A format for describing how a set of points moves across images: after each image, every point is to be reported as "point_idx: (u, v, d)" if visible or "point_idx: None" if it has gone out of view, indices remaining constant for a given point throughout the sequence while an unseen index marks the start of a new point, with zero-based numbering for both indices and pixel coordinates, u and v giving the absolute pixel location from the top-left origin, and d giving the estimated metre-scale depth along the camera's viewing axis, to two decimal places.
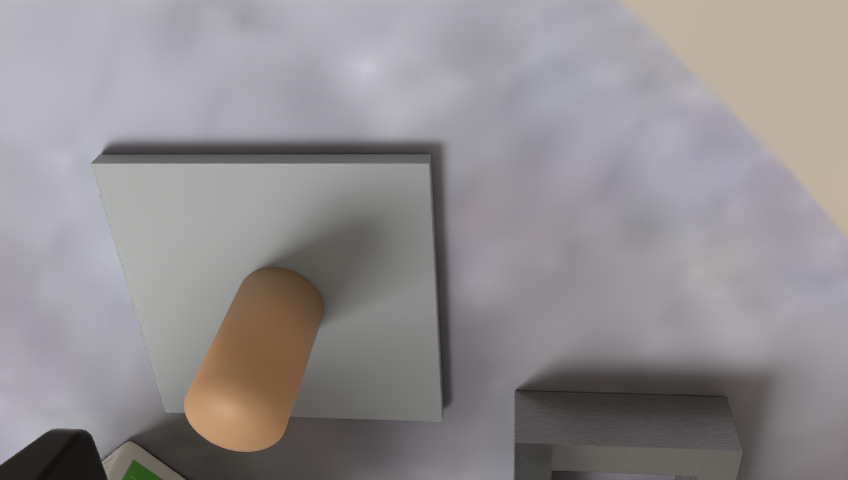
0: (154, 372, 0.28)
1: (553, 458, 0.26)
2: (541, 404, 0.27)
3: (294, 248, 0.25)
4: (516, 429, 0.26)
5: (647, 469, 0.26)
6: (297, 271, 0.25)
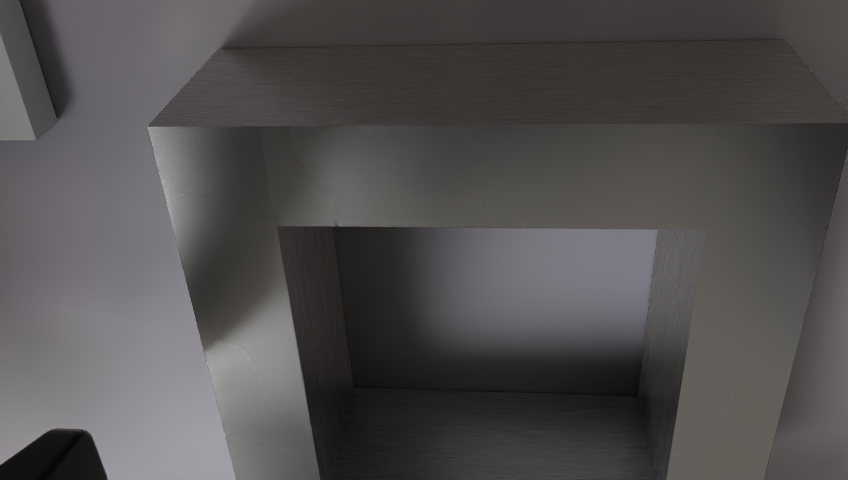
0: None
1: (271, 181, 0.09)
2: (272, 65, 0.10)
3: None
4: (171, 105, 0.09)
5: (554, 211, 0.09)
6: None
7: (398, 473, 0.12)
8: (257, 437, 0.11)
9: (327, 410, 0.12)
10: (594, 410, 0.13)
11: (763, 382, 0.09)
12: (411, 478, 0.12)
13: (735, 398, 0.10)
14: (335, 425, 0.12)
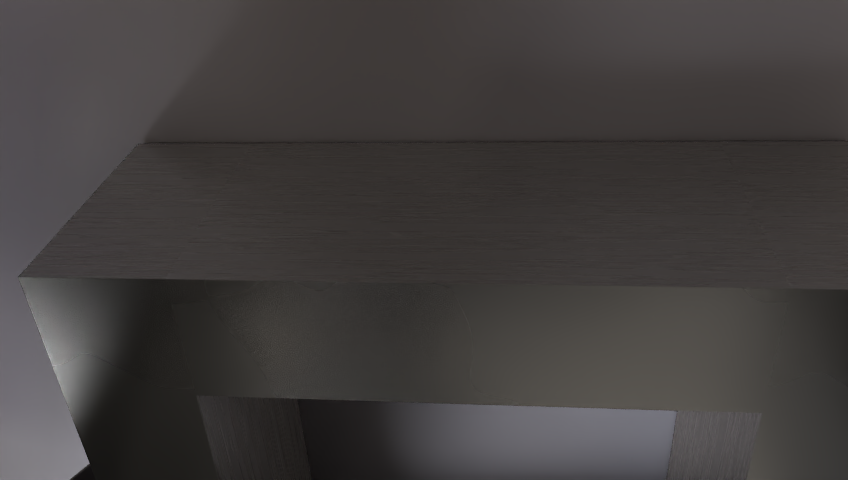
0: None
1: (186, 344, 0.07)
2: (200, 172, 0.08)
3: None
4: (59, 237, 0.07)
5: (560, 387, 0.06)
6: None
7: None
8: None
9: None
10: None
11: None
12: None
13: None
14: None
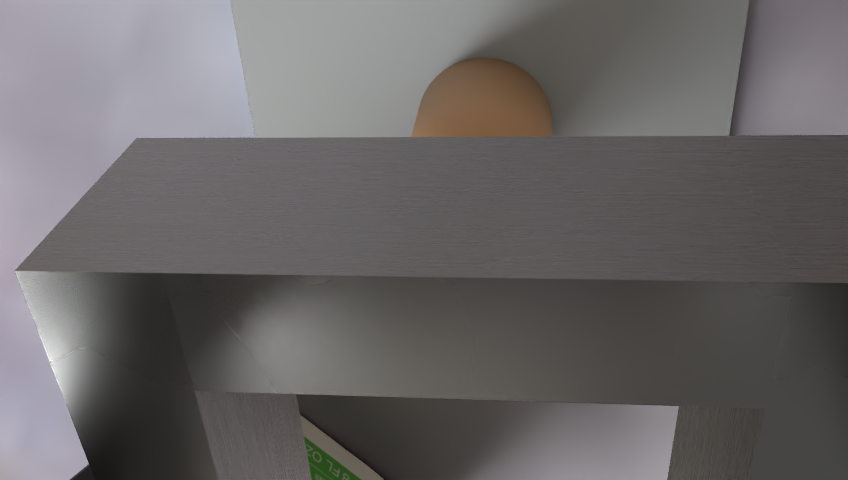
0: None
1: (184, 339, 0.07)
2: (198, 166, 0.08)
3: (520, 21, 0.16)
4: (56, 231, 0.07)
5: (560, 382, 0.06)
6: (518, 64, 0.16)
7: None
8: None
9: None
10: None
11: None
12: None
13: None
14: None
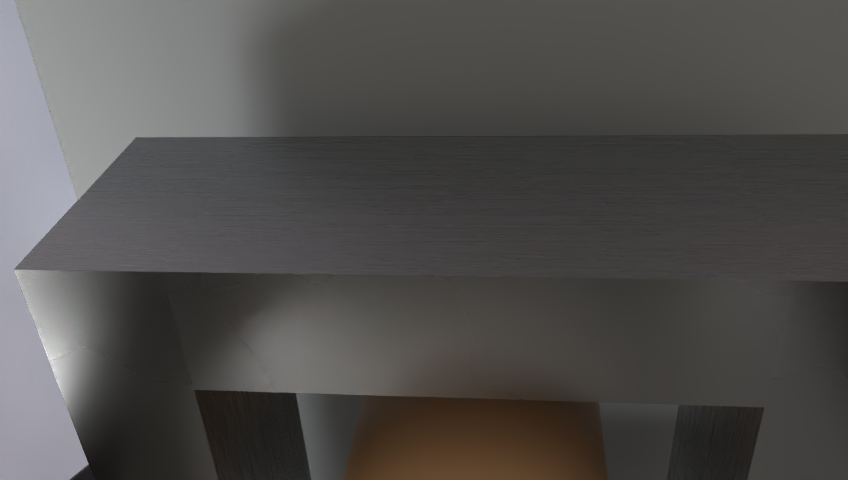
0: None
1: (184, 338, 0.07)
2: (198, 165, 0.08)
3: None
4: (56, 230, 0.07)
5: (560, 381, 0.06)
6: None
7: None
8: None
9: None
10: None
11: None
12: None
13: None
14: None
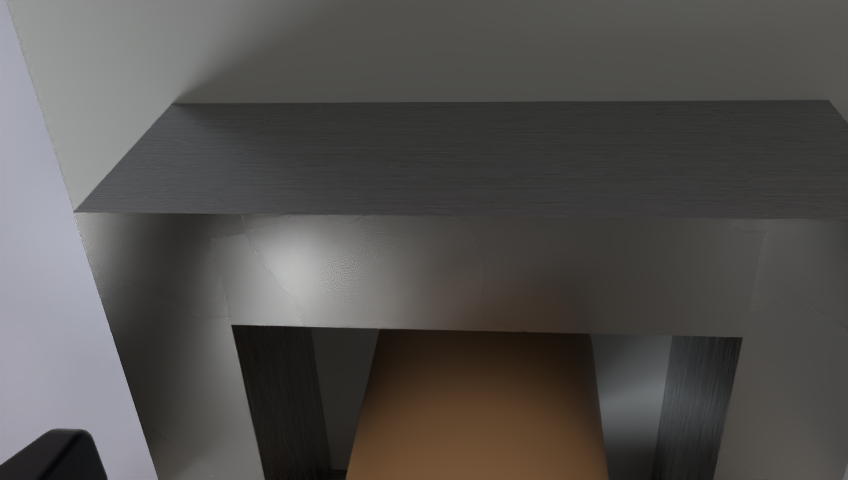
0: None
1: (224, 276, 0.07)
2: (231, 126, 0.08)
3: None
4: (107, 181, 0.08)
5: (561, 315, 0.07)
6: None
7: None
8: None
9: None
10: None
11: None
12: None
13: None
14: None
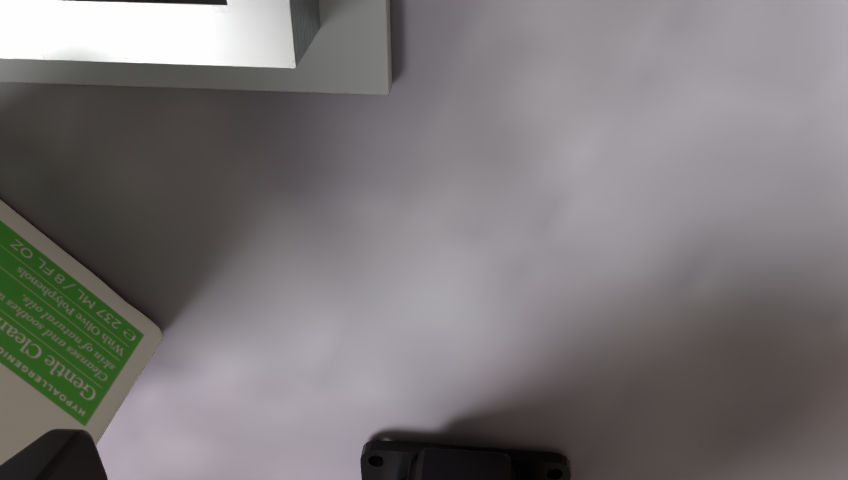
0: None
1: None
2: None
3: None
4: None
5: None
6: None
7: None
8: None
9: None
10: None
11: None
12: None
13: None
14: None
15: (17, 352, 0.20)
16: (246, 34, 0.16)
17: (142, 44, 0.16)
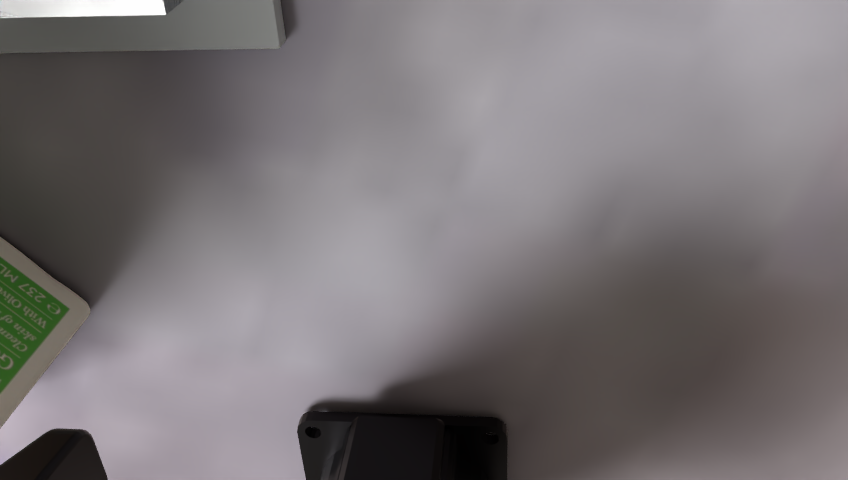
0: None
1: None
2: None
3: None
4: None
5: None
6: None
7: None
8: None
9: None
10: None
11: None
12: None
13: None
14: None
15: None
16: None
17: None
